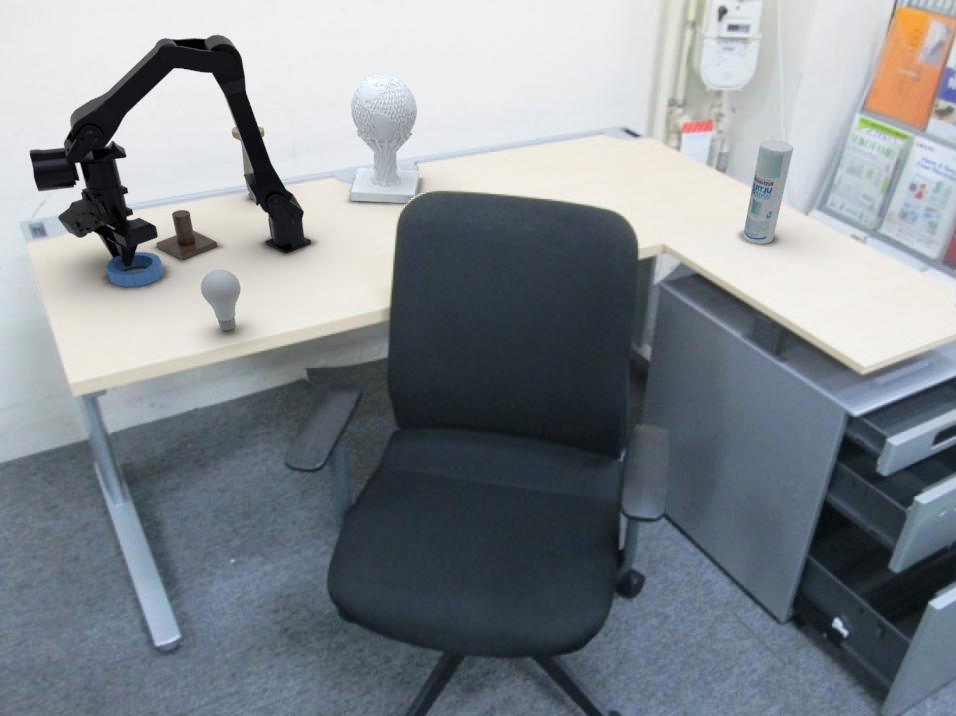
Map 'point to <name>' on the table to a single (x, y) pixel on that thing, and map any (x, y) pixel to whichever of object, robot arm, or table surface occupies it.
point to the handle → (245, 159)
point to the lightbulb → (222, 296)
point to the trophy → (384, 139)
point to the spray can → (767, 190)
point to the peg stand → (185, 238)
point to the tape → (137, 277)
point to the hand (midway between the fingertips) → (123, 263)
